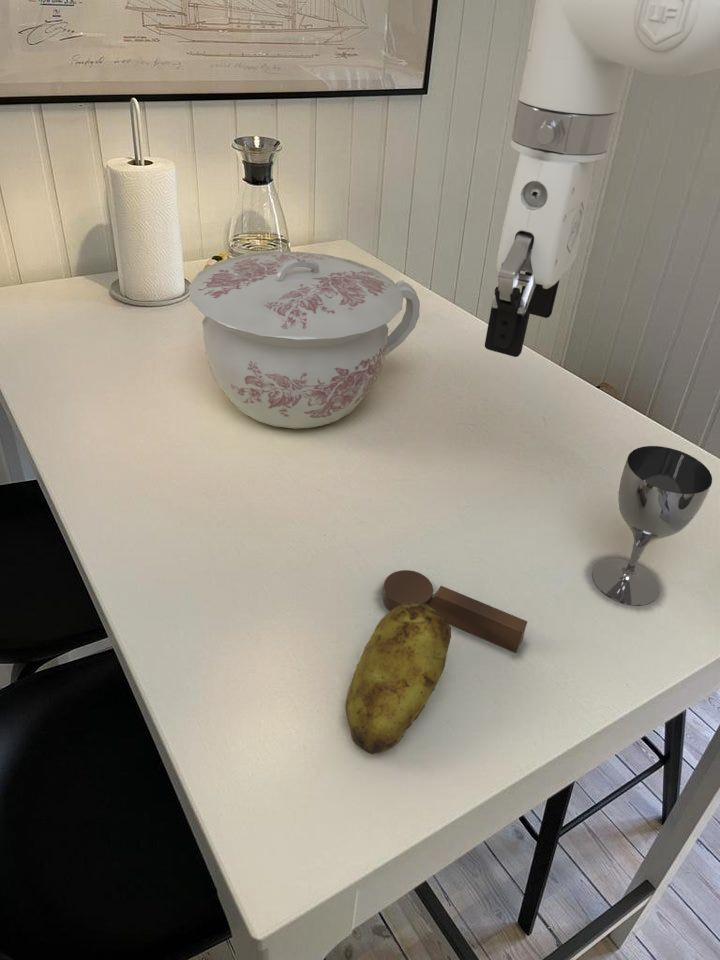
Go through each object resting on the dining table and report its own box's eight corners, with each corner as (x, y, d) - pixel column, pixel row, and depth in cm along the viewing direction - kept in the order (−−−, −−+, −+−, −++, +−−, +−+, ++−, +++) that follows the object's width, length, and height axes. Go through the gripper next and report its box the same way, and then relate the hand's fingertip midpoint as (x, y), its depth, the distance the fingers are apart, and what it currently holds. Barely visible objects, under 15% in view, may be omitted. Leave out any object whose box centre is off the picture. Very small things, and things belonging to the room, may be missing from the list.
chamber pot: (158, 428, 98) (142, 276, 86) (245, 342, 120) (242, 211, 107) (362, 478, 93) (377, 323, 80) (415, 379, 114) (433, 244, 102)
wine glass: (663, 617, 77) (714, 502, 68) (585, 595, 79) (625, 481, 70) (663, 568, 83) (711, 457, 74) (591, 548, 85) (628, 438, 76)
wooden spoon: (526, 631, 74) (533, 610, 73) (510, 665, 71) (516, 644, 69) (395, 576, 79) (398, 554, 77) (373, 605, 76) (376, 584, 74)
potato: (305, 714, 65) (308, 652, 60) (402, 636, 73) (411, 576, 68) (377, 777, 60) (386, 716, 56) (471, 687, 68) (486, 626, 64)
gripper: (582, 160, 51) (531, 381, 61) (630, 122, 64) (581, 310, 74) (479, 141, 54) (446, 357, 64) (545, 108, 66) (508, 292, 77)
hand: (518, 331), depth 69 cm, fingers open, 9 cm apart
